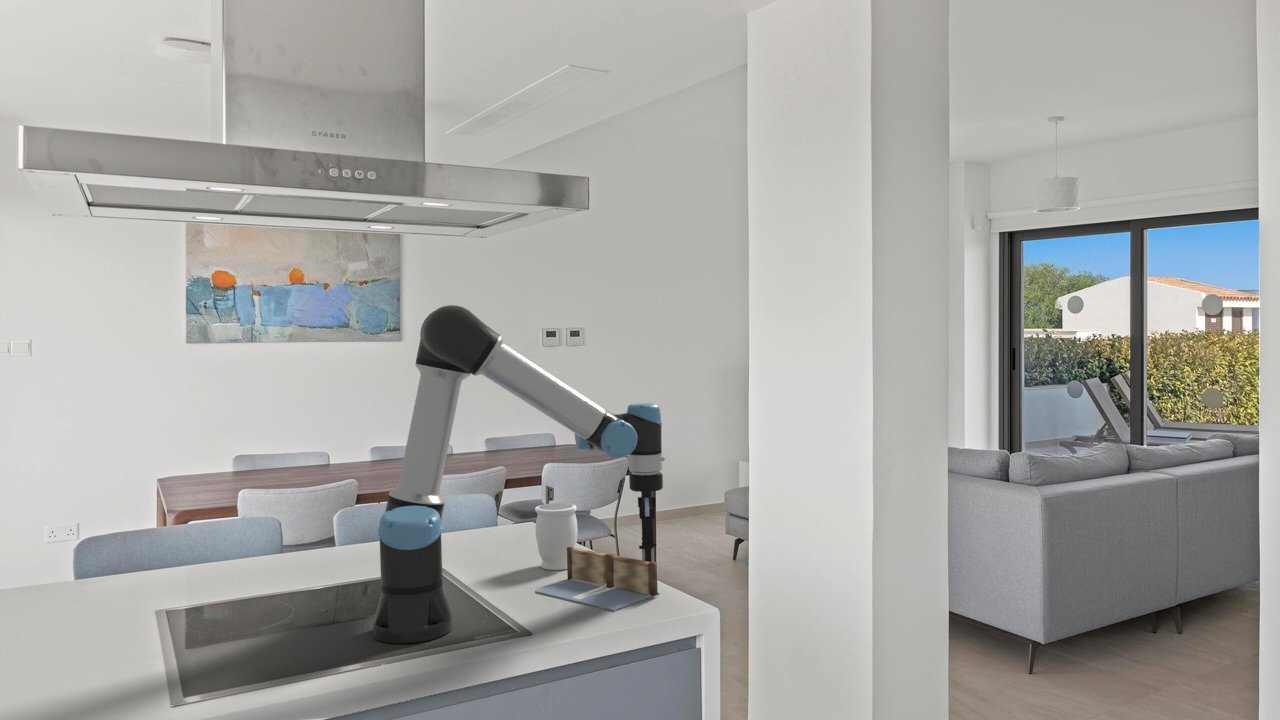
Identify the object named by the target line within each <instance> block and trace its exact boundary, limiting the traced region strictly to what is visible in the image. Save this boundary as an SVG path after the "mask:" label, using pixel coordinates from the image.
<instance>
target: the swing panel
mask: <svg viewBox="0 0 1280 720" xmlns="http://www.w3.org/2000/svg"><path fill="white" fill-rule="evenodd" d="M613 567H614V587H617V588H622V589H626V590H631V591H636V592H640V593H645V594H650V595H653V597H655V596H654V595H656V596H658V595H659V594H658V593H659V592H658V590H659V589H658V563H657V561H654V562H647V561H642V559H641V560H640V559H636V558H630V557H625V556H621V555H620V556H619V555H616V556H615V555H614V557H613Z"/></svg>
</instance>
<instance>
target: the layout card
mask: <svg viewBox="0 0 1280 720" xmlns="http://www.w3.org/2000/svg"><path fill="white" fill-rule="evenodd" d="M535 594H540V595H545V596H548V597H553V598H557V599H562V600H564V601H565V600H566V601H570V602H573V603H576V604H577V603H578V604H582V605H585V604H586V606H589V605H590V607H594V608H598V607H599V609H602V608H603V609H602V610H606V609H608V610H607V611H610V610H613V611H612V612H616V611H615V610H617V611H619V610H621V609H620V608H622V609H624V608H627V607H629V606H628V605H630V606H632V605H634V604H633V603H635V604H637V603H640V602H643V601H645V600H648V599H650V598H653V597H656V596H657V595H654V596H653V595H650V594H645V593H640V592H636V591H631V590H626V589H622V588H617V587H613V588H608V587H606V584H605V585H603V584H599V583H594V582H589V581H585V580H580V579H576V578H573V579H570V580H568V579H567V580H566V581H562V582H559V583H556V584H553V585H549V586H546V587H544V588H541V589H537V590H535ZM658 595H660V592H658ZM642 600H643V601H642ZM639 601H640V602H639ZM636 602H637V603H636ZM631 604H632V605H631ZM626 606H627V607H626ZM623 607H624V608H623ZM618 609H619V610H618Z"/></svg>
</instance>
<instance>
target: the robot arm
mask: <svg viewBox="0 0 1280 720" xmlns="http://www.w3.org/2000/svg"><path fill="white" fill-rule="evenodd" d="M419 335H420V340H419V343H418V349H417V350H418V351H417V354H416V359H415V363H414V365H415V367H416V369H417V370H418V372H419V374H420V376H419V381H418V386H417V391H416V396H415V401H414V407H413V412H412V415H411V422H410V426H409V432H408V435H407V441H406V446H405V450H404V455H403V460H402V464H401V465H402V466H401V470H400V475H399V480H398V485H397V486H396V487H395V488H393V489H392V490H390V491H389V493H388V498H387V502H386V506H385V507H386V508H385V510H384V513H383V514H382V515H381V516H380V519H379V523H378V524H379V526H378V529H377V530H378V531H377V532H378V536H379V558H380V559H379V561H380V563H379V564H380V586H381V587H380V588H381V589H380V598H379V601H378V604H377V605H378V606H377V607H376V611H375V615H374V619H373V622H372V636H373V638H374V639H376V640H378V641H380V642H383V643H388V644H412V643H420V642H427V641H430V640H434V639H438V638H440V637H442V636H445V635H447V634H448V633H450V632H451V631H452V630H453V627H454V620H453V617H454V616H453V612H452V610H451V608H450V604H449V602H448V599H447V596H446V594H445V591H444V586H443V551H442V549H443V548H442V531H443V525H442V524H443V523H442V518H443V513H444V507H445V503H446V501H445V498H443V496H442V495H441V492H440V490H441V484H442V480H443V476H444V471H445V464H446V460H447V456H448V451H449V447H450V440H451V435H452V432H453V431H452V430H453V425H454V421H455V415H456V410H457V406H458V401H459V395H460V390H461V386H462V383H463V382H464V380H465V379H467V378H468V377H470V376H471V374H472V375H473V376H475V377H476V376H480V375H481V376H484V377H486V378H487V379H489V380H491V382H493V383H495V384H497V385H498V386H499V387H501V388H503V389H504V390H506V391H508V392H509V393H511V394H513V395H514V396H516V397H517V398H518V399H521V400H522V401H523V402H524V403H526V404H528V405H530V406H532V407H533V408H535V409H536V410H537V411H539V412H541V413H543V414H544V415H545V416H547V417H549V418H550V419H552V420H553V421H555V422H557V423H558V424H560V425H562V427H564V428H566V429H567V430H569V431H571V432H573V433H574V440H575V441H574V442H575V445H576V447H577V449H579V450H583V451H584V450H588V451H592V450H598V451H600V452H603V453H605V454H606V455H608V456H609V457H611V458H624V457H628V471H629V472H630V474H629V475H628V476H629V477H628V478H629V479H628V480H629V482H628V483H629V489H630V490H631V492H640V493H641V494H640V495H641V496H638V497H637V507H638V508H639V509H638V511H639V515H638V516H639V519H640V520H641V545H639V547H638V550H641V560H642V561H647V562H655V547H656V546H657V542H654V520H653V519H655V517H656V516H655V514H656V513H655V511H656V510H655V508H656V496H652V492H658V491H661V490H662V489H663V487H664V482H663V477H664V476H663V473H662V472H661V471H662V470H663V462H664V461H665V460H666V458H665V456H662V455H663V454H662V453H663V452H662V424H663V422H662V414H661V408H660V406H659V405H658V404H657V403H648V402H647V403H646V402H645V403H642V402H641V403H631V404H629V405H628V406H627V410H626V413H625V412H624V413H620V414H614V413H611V412H610V411H608V410H607V409H605V408H604V407H602V406H600V405H599V404H597V402H594V401H593V400H591V398H588V397H587V396H586V395H584V394H582V393H581V392H580V391H578V390H577V389H575V388H573V387H572V386H570V385H568V384H567V383H565V382H564V381H562V380H561V379H560V378H558V377H556V376H555V375H553V374H552V373H550V372H548V371H547V370H545V369H543V368H542V367H541V366H539V365H538V364H536V363H535V362H533V361H532V360H531V359H529V358H527V357H525V356H524V355H522V354H521V353H519V352H518V351H516V350H515V349H513V348H511V347H510V346H509V345H507V344H506V343H504V342H503V336H502V335H501V334H500V333H498V332H496V331H495V330H494V329H492V328H491V327H490V326H488V325H487V324H486V323H484V322H483V321H482V320H481V319H480V318H479V317H477V316H476V315H475V314H474V313H472V312H471V310H469V309H467V308H465V307H463V306H459V305H455V304H454V305H453V304H451V305H444V306H441V307H438V308H437V309H435V310H433V311H432V312H431V313H429V314H428V315H427V317H426V318H425V319H424V320H423V322H422V325H421V328H420V333H419Z"/></svg>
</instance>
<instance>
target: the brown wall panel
mask: <svg viewBox="0 0 1280 720" xmlns="http://www.w3.org/2000/svg"><path fill="white" fill-rule="evenodd" d="M613 557H615V553H604V552H599V551H593V550H589V549H588V550H587V549H583V548H577V547H576V548H574V547H567V569H566V570H567V571H566V572H567V573H566V574H567V581H568V580H570V579H573V578H576V579H580V580H585V581H589V582H594V583H599V584H603V585H605V584H606V587H608V588H613V587H614V567H613Z"/></svg>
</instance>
